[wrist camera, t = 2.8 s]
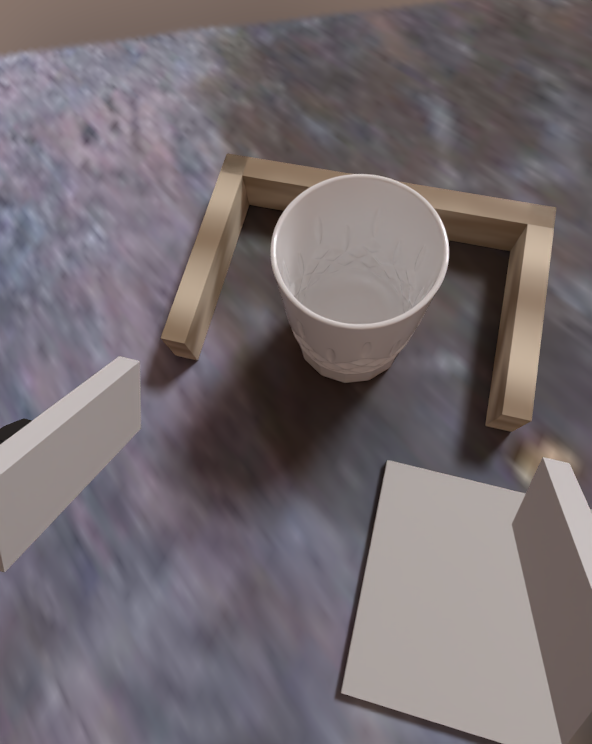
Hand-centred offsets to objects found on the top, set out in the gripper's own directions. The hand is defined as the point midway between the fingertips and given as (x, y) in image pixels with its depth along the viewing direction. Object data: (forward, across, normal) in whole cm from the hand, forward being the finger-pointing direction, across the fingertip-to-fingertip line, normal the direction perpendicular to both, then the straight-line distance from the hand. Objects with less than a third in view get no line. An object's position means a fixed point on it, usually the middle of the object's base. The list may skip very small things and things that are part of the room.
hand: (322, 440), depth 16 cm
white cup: (+16, -1, -3) cm, 16 cm away
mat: (+7, +9, -12) cm, 17 cm away
